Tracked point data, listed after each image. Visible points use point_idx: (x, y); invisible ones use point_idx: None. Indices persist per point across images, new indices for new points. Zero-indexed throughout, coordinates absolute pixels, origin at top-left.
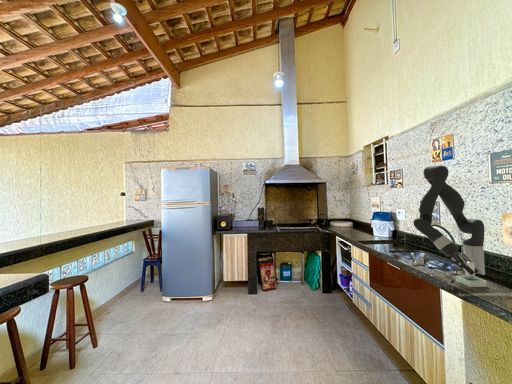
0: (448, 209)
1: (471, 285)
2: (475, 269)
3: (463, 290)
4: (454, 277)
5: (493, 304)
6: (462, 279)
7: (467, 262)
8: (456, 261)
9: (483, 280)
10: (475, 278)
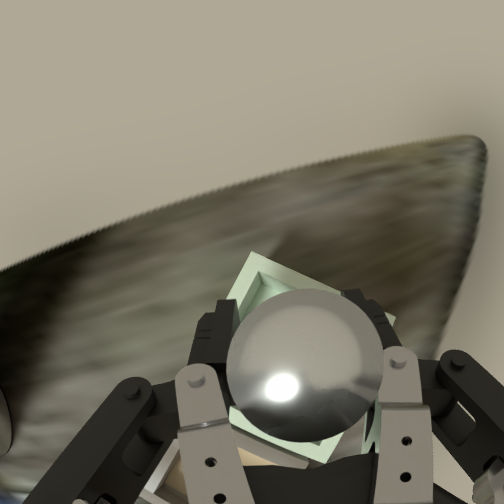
0: None
1: None
2: (235, 321)
3: (434, 332)
4: None
5: (477, 170)
6: None
7: (357, 377)
8: (496, 451)
9: (256, 271)
10: None
